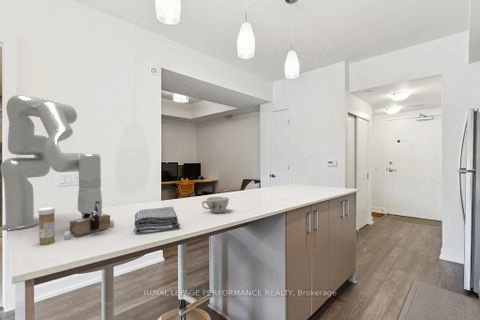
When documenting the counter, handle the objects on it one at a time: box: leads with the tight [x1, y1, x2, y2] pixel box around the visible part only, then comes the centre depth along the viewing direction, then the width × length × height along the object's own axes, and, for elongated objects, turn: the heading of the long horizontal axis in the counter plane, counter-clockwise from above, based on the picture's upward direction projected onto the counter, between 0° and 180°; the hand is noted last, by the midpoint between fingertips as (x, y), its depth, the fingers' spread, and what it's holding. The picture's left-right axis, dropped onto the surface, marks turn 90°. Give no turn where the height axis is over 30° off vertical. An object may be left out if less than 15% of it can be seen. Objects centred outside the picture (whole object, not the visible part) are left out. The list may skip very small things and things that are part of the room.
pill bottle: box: [37, 206, 56, 246], centre depth 85 cm, size 5×5×13 cm
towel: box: [134, 205, 181, 235], centre depth 105 cm, size 15×18×8 cm
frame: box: [69, 213, 111, 236], centre depth 96 cm, size 5×13×5 cm, turn 149°
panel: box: [64, 219, 115, 241], centre depth 97 cm, size 16×20×4 cm
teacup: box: [201, 196, 230, 214], centre depth 132 cm, size 15×12×8 cm
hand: (90, 228), depth 96 cm, fingers closed on frame, 5 cm apart
